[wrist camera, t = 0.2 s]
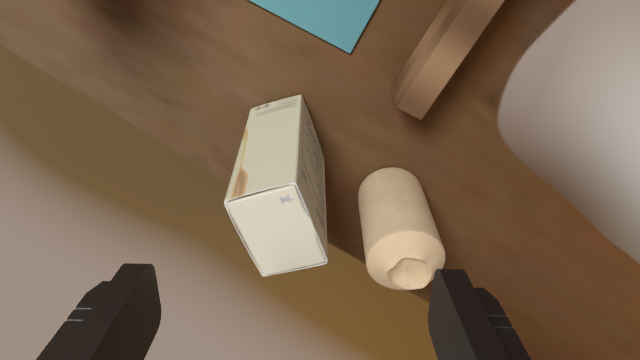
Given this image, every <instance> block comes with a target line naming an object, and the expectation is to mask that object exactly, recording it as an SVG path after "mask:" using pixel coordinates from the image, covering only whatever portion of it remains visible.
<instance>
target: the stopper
mask: <svg viewBox="0 0 640 360" xmlns="http://www.w3.org/2000/svg"><path fill="white" fill-rule="evenodd" d="M503 2H504V0H446V1H445V3H444V4H443V6H442V7H441V9H440V11H439V12H438V14H437V15H436V17H435V18H434V20H433V22H432V23H431V25H430V26H429V28H428V30H427V31H426V33H425V34H424V36H423V38H422V39H421V41H420V42H419V44H418V45H417V47H416V49H415V50H414V52H413V53H412V55H411V57H410V58H409V60H408V61H407V63H406V65H405V66H404V68H403V69H402V71H401V72H400V74H399V76H398V77H397V79H396V80H395V82H394V84H393V85H392V87H391V88H390V91H391V94H392V96H393V99H394V102H395V104H396V107H397V108H398V109H400V110H402V111H404V112H406V113H408V114H410V115H412V116H414V117H416V118H418V119H420V120H422V118H423V117H424V115H425V114H426V112H427V111H428V110H429V108H430V107H431V105H432V104H433V102H434V101H435V100H436V98H437V97H438V95H439V94H440V92H441V91H442V89H443V88H444V87H445V85H446V84H447V82H448V81H449V79H450V78H451V77H452V75H453V74H454V72H455V71H456V69H457V68H458V66H459V65H460V64H461V62H462V61H463V59H464V58H465V56H466V55H467V54H468V52H469V51H470V49H471V48H472V46H473V45H474V44H475V42H476V41H477V39H478V38H479V36H480V35H481V33H482V32H483V31H484V29H485V28H486V26H487V25H488V23H489V22H490V21H491V19H492V18H493V16H494V15H495V13H496V12H497V10H498V9H499V8H500V6H501V5H502V3H503Z"/></svg>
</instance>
